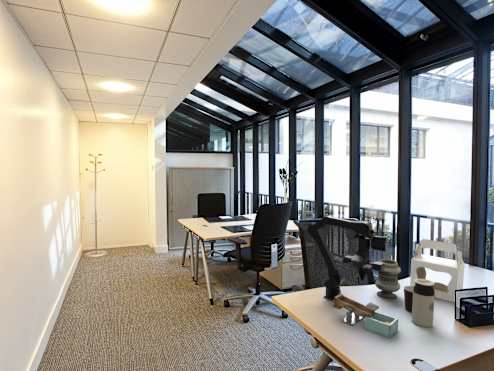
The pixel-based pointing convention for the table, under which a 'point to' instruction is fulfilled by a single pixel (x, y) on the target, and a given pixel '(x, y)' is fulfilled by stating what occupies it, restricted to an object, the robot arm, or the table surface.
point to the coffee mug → (408, 298)
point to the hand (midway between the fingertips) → (362, 280)
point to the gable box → (438, 267)
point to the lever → (355, 306)
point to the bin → (382, 324)
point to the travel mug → (423, 302)
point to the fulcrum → (351, 317)
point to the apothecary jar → (388, 279)
